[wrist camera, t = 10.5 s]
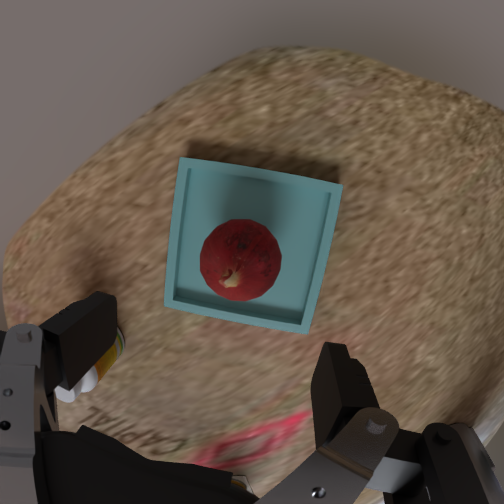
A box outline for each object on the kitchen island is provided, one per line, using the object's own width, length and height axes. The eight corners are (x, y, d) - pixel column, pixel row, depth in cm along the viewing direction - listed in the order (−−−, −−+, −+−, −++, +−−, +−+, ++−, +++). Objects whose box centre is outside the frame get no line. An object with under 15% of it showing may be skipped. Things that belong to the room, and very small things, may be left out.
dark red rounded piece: (227, 201, 24) (202, 214, 17) (293, 229, 24) (298, 255, 17) (203, 264, 26) (171, 301, 18) (264, 291, 26) (257, 338, 18)
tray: (339, 184, 24) (343, 185, 22) (306, 326, 27) (307, 334, 26) (185, 158, 24) (179, 157, 23) (169, 299, 28) (163, 306, 26)
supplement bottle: (113, 310, 29) (60, 358, 19) (133, 354, 30) (91, 409, 20) (78, 317, 29) (26, 360, 20) (98, 358, 31) (54, 407, 21)
